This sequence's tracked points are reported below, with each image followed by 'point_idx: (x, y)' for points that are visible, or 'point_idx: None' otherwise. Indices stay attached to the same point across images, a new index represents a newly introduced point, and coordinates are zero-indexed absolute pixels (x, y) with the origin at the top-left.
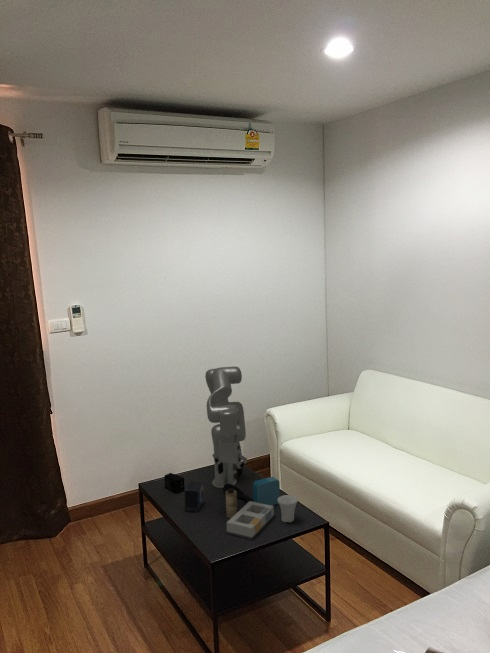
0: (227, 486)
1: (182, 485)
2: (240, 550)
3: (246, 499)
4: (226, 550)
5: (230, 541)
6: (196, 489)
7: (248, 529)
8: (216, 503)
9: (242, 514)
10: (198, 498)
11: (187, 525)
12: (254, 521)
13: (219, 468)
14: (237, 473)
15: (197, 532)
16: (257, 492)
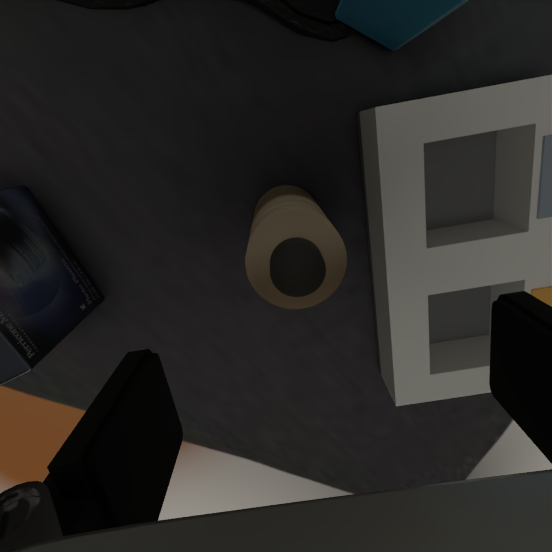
0: None
1: None
2: (501, 428)
3: (260, 3)
4: (448, 453)
5: (428, 404)
6: (3, 354)
7: None
8: (101, 151)
9: (429, 294)
10: (57, 314)
11: None
12: None
13: (150, 516)
14: (530, 433)
15: (256, 425)
16: (442, 17)
